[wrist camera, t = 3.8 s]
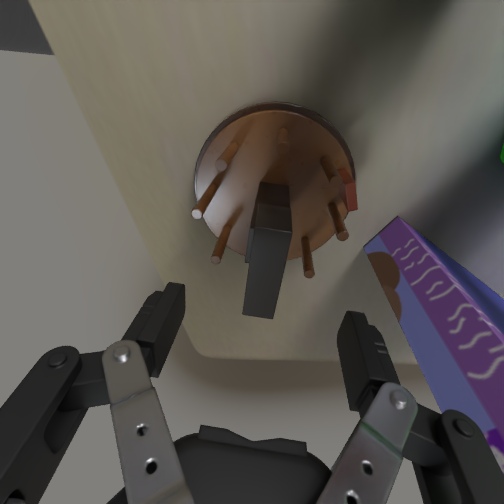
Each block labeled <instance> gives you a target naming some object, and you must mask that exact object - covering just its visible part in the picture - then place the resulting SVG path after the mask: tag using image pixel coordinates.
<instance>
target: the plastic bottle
mask: <svg viewBox="0 0 504 504" xmlns="http://www.w3.org/2000/svg"><path fill="white" fill-rule="evenodd" d="M500 158H501V160H502V162H503V164H504V144H503V148H502V151H501V155H500Z"/></svg>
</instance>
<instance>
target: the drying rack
mask: <svg viewBox="0 0 504 504" xmlns="http://www.w3.org/2000/svg"><path fill="white" fill-rule="evenodd" d="M196 195H197V200H198V203H197V204H196V206H195V207H194V208H193V210H192V212H191V215H192V217H193V218H195V219H200V218H201V217H202V216H203V218H204V220H205V222H206V224H207V225H208V227H209V229H210V230H211V231H212V232H213V234H214V235H215V236H216V237H217V238H218V241H217V244H216V246H215V249H214V251H213V254H212V256H211V262H212V263H214V264H219V263H220V262H221V259H222V256H223V253H224V250H225V247H226V246H227V247H229V248H230V249H232V250H234V251H235V252H237V253H239V254H242V255H244V256H246V257H245V263H249V270H248V277H247V284H246V291H245V298H244V305H243V312H242V314H243V315H248V316H255V317H261V318H267V319H273V317H274V313H275V308H276V304H277V300H278V295H279V291H280V286H281V282H282V278H283V273H284V269H285V264H286V260H291V259H295V258H298V257H301V256H302V260H303V270H304V276H305V277H306V278H312V277H313V276H314V274H315V273H314V267H313V261H312V254H311V252H313V251H314V250H316V249H317V248H319V247H321V246H322V245H323V244H324V243H326V242H327V241H328V240H329V239H330V238H331V237H332V236H333V235H334V234H335V233H336V236H337V238H338V240H340V241H345V240H346V239H348V237H349V234H348V231H347V229H346V227H345V224H344V222H343V221H344V219H345V217H346V215H347V212H348V211H354V210H357V209H358V207H357V196H356V184H355V181H354V180H353V179H352V173H351V168H350V164H349V161H348V158H347V156H346V154H345V152H344V150H343V148H342V147H341V145H340V144H339V142H338V141H337V140H336V138H335V137H334V136H333V135H332V134H331V133H330V132H329V131H328V130H327V129H326V128H325V127H323V126H322V125H321V124H320V123H318V122H316V121H315V120H313V119H311V118H309V117H307V116H305V115H302V114H299V113H296V112H292V111H287V110H263V111H259V112H254V113H251V114H248V115H246V116H243V117H241V118H239V119H237V120H235V121H234V122H232V123H231V124H229V125H228V126H227V127H225V128H224V129H223V130H222V131H221V132H220V133H219V134H218V135H217V136H216V137H215V138H214V139H213V140H212V142H211V143H210V144H209V146H208V147H207V149H206V151H205V153H204V154H203V156H202V159H201V162H200V164H199V168H198V172H197V179H196Z"/></svg>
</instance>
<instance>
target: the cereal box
mask: <svg viewBox="0 0 504 504" xmlns="http://www.w3.org/2000/svg"><path fill="white" fill-rule="evenodd" d="M363 248H364V250H365V252H366V254H367V256H368V258H369V260H370V262H371V265H372V267H373V269H374V271H375V273H376V275H377V277H378V279H379V281H380V284H381V286H382V288H383V290H384V292H385V294H386V296H387V298H388V300H389V303H390V305H391V307H392V309H393V311H394V313H395V315H396V317H397V319H398V321H399V324H400V326H401V328H402V330H403V332H404V334H405V336H406V338H407V340H408V343H409V345H410V347H411V349H412V351H413V353H414V355H415V357H416V359H417V362H418V364H419V366H420V368H421V370H422V372H423V374H424V376H425V378H426V381H427V383H428V385H429V387H430V389H431V391H432V393H433V395H434V397H435V399H436V401H437V404H438V406H439V408H440V410H441V412H442V413H443V412H444V411H445V410H448V409H453V410H457V411H459V412H462V413H463V414H465V415H467V416H468V417H469V418H471V419H472V420H473V421H474V422H475V423H476V424H477V425H478V426H479V428H480V429H481V431H482V433H483V434H484V436H485V438H486V440H487V442H488V444H489V446H490V448H491V450H492V452H493V454H494V456H495V458H496V460H497V462H498V464H499V466H500V468H501V470H502V472H503V474H504V300H503V299H502V298H501V297H500V296H499V295H498V294H497V293H495V292H494V291H493V290H492V289H490V288H489V287H488V286H487V285H485V284H484V283H483V282H481V281H480V280H479V279H478V278H476V277H475V276H474V275H472V274H471V273H470V272H469V271H467V270H466V269H465V268H464V267H462V266H461V265H460V264H458V263H457V262H456V261H455V260H453V259H452V258H451V257H449V256H448V255H447V254H446V253H444V252H443V251H442V250H441V249H439V248H438V247H437V246H435V245H434V244H433V243H432V242H430V241H429V240H428V239H426V238H425V237H424V236H423V235H421V234H420V233H419V232H417V231H416V230H415V229H414V228H412V227H411V226H410V225H409V224H407V223H406V222H405V221H403V220H402V219H401V218H400V217H398V216H397V217H396V218H394V219H393V220H392V221H391V222H390V223H389V224H388V225H387V226H386V227H384V228H383V229H382V230H381V231H380V232H379V233H378V234H377V235H376V236H374V237H373V238H372V239H371V240H370V241H369V242H368V243H367V244H366V245H365V246H363Z"/></svg>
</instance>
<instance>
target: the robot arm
mask: <svg viewBox="0 0 504 504" xmlns="http://www.w3.org/2000/svg"><path fill="white" fill-rule="evenodd" d="M184 314H185V285H184V284H179V283H173V282H169V283H168V284H167V286H166V288H165V289H164V291H163V292H161V291H155V292H154V293H153V294H151V295H150V296H149V297H148V298H147V299H146V301H145V302H144V304H143V307H141V309H140V311H139V313H138V314H137V315H136V317H135V318H134V320H133V322H132V323H131V325H130V327H129V328H128V330H127V331H126V333H125V335H124V336H123V338H122V339H121V340H120V341H117V342H115V343H113V344H112V345H110V346H109V347H108V348H107V349H106V350H104V351H100V352H93V353H85V354H79V351H78V350H77V349H76V348H74V347H71V346H61V347H57V348H54V349H52V350H50V351H48V352H47V353H45V354H44V355H43V356H42V357H41V358H40V359H39V360H38V361H37V363H36V364H35V365H34V367H33V368H32V369H31V370H30V372H29V373H28V374H27V375H26V377H25V378H24V379H23V380H22V382H21V383H20V384H19V385H18V387H17V388H16V389H15V390H14V392H13V393H12V394H11V395H10V397H9V398H8V399H7V401H6V402H5V403H4V404H3V406H2V407H1V408H0V504H38V503H39V501H40V499H41V497H42V496H43V494H44V492H45V490H46V488H47V486H48V484H49V482H50V480H51V479H52V477H53V475H54V473H55V471H56V469H57V467H58V465H59V463H60V461H61V460H62V458H63V456H64V454H65V452H66V450H67V448H68V446H69V444H70V442H71V441H72V439H73V437H74V435H75V433H76V431H77V429H78V427H79V425H80V424H81V421H82V420H83V418H84V416H85V414H86V412H87V410H88V408H89V407H95V406H100V405H106V404H110V410H111V415H112V421H113V426H114V431H115V437H116V442H117V447H118V452H119V458H120V463H121V469H122V474H123V479H124V484H125V487H124V488H123V489H122V490H121V491H119V492H118V493H117V494H116V495H115V496H114V497H113V498H112V499H111V500H110V501H109V502H108V503H107V504H386V503H387V500H388V497H389V495H390V492H391V490H392V487H393V485H394V482H395V479H396V476H397V474H398V472H399V469H400V466H401V463H402V460H403V457H405V458H406V459H408V460H410V461H412V464H413V467H414V471H415V475H416V478H417V482H418V485H419V489H420V492H421V495H422V499H423V503H424V504H504V474H503V472H502V470H501V468H500V466H499V464H498V462H497V460H496V458H495V456H494V454H493V452H492V450H491V448H490V446H489V444H488V442H487V440H486V438H485V436H484V434H483V433H482V431H481V429H480V428H479V426H478V425H477V424H476V423H475V422H474V421H473V420H472V419H471V418H469V417H468V416H467V415H465V414H463V413H462V412H459V411H457V410H453V409H448V410H445V411H444V412H443V413H442V414H439V413H437V412H435V411H433V410H431V409H429V408H426V407H424V406H422V405H420V404H418V403H417V402H416V400H415V398H414V397H413V395H412V394H411V393H410V392H409V391H408V390H407V389H406V388H404V387H403V386H401V384H400V382H399V379H398V376H397V374H396V371H395V369H394V366H393V363H392V361H391V358H390V355H389V354H388V350H387V347H386V346H385V342H384V339H383V337H382V335H381V333H380V332H379V331H378V330H377V328H376V327H375V326H373V325H369V324H368V321H367V318H366V316H365V314H364V313H360V312H354V311H347V312H346V314H345V316H344V319H343V321H342V323H341V326H340V328H339V331H338V334H337V347H338V352H339V357H340V362H341V367H342V372H343V377H344V382H345V387H346V393H347V398H348V403H349V408H350V410H351V411H357V412H359V414H360V418H361V419H360V420H359V422H358V424H357V425H356V427H355V429H354V431H353V433H352V434H351V436H350V437H349V439H348V441H347V443H346V444H345V446H344V448H343V450H342V451H341V453H340V455H339V457H338V458H337V460H336V461H335V463H334V465H333V466H332V468H331V470H330V469H329V468H328V467H327V466H326V465H325V464H324V463H323V462H322V461H321V460H320V459H318V458H317V457H315V456H314V455H313V454H311V453H309V452H307V446H306V442H301V441H295V440H289V439H283V438H276V439H268V440H261V441H251V440H248V439H246V438H244V437H242V436H240V435H238V434H236V433H234V432H232V431H230V430H228V429H224V428H218V427H211V426H205V425H201V426H200V430H199V433H193V434H190V435H186V436H184V437H182V438H180V439H178V440H176V441H175V442H173V441H172V438H171V434H170V431H169V428H168V425H167V423H166V419H165V416H164V413H163V410H162V407H161V404H160V401H159V398H158V395H157V392H156V390H155V387H153V385H152V383H151V379H150V377H156V378H158V377H159V374H160V372H161V370H162V368H163V365H164V363H165V361H166V358H167V356H168V353H169V351H170V349H171V346H172V344H173V342H174V339H175V337H176V334H177V332H178V330H179V327H180V325H181V323H182V320H183V317H184Z"/></svg>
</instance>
